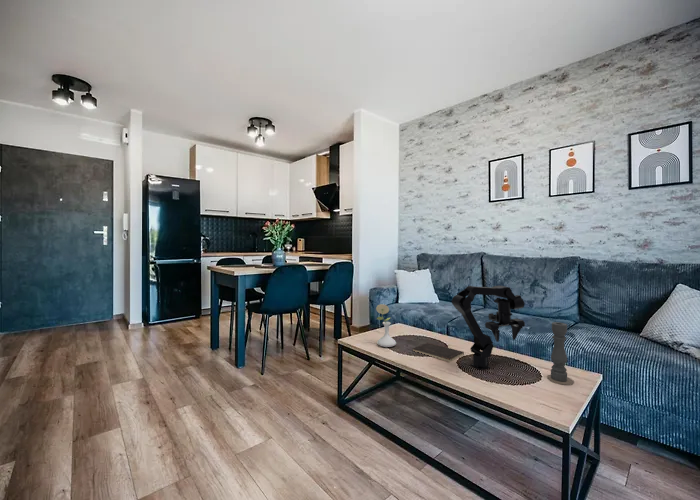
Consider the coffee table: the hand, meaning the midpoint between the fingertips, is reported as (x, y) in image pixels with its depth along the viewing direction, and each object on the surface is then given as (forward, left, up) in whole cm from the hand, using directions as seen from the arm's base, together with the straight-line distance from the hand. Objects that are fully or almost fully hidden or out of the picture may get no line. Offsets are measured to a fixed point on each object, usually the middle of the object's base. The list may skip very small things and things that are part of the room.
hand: (505, 340), depth 159 cm
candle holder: (+7, -23, -12) cm, 27 cm away
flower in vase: (-45, +47, -12) cm, 66 cm away
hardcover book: (-23, +25, -13) cm, 36 cm away
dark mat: (+8, -23, -12) cm, 27 cm away
